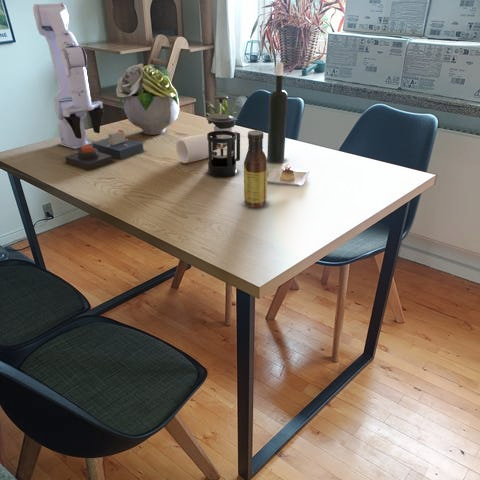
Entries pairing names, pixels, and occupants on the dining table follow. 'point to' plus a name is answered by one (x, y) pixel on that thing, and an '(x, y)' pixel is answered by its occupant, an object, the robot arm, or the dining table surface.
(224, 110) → the house plant
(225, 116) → the french press
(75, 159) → the button base
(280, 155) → the wine bottle
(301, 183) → the dessert
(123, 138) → the grey rectangular block
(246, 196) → the sauce bottle
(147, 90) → the flower arrangement
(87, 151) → the button
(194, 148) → the mug
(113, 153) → the dial panel
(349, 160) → the dining table surface
